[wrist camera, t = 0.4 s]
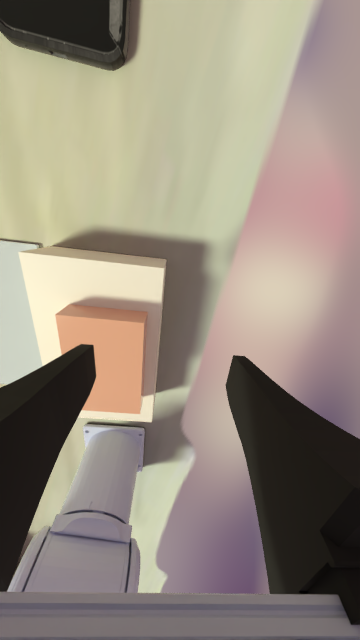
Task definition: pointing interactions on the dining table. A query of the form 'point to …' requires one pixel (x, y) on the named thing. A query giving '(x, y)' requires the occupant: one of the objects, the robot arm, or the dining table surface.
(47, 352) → the cream rectangular block
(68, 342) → the terracotta tile
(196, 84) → the dining table surface
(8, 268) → the mat
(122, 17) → the phone
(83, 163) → the dining table surface
